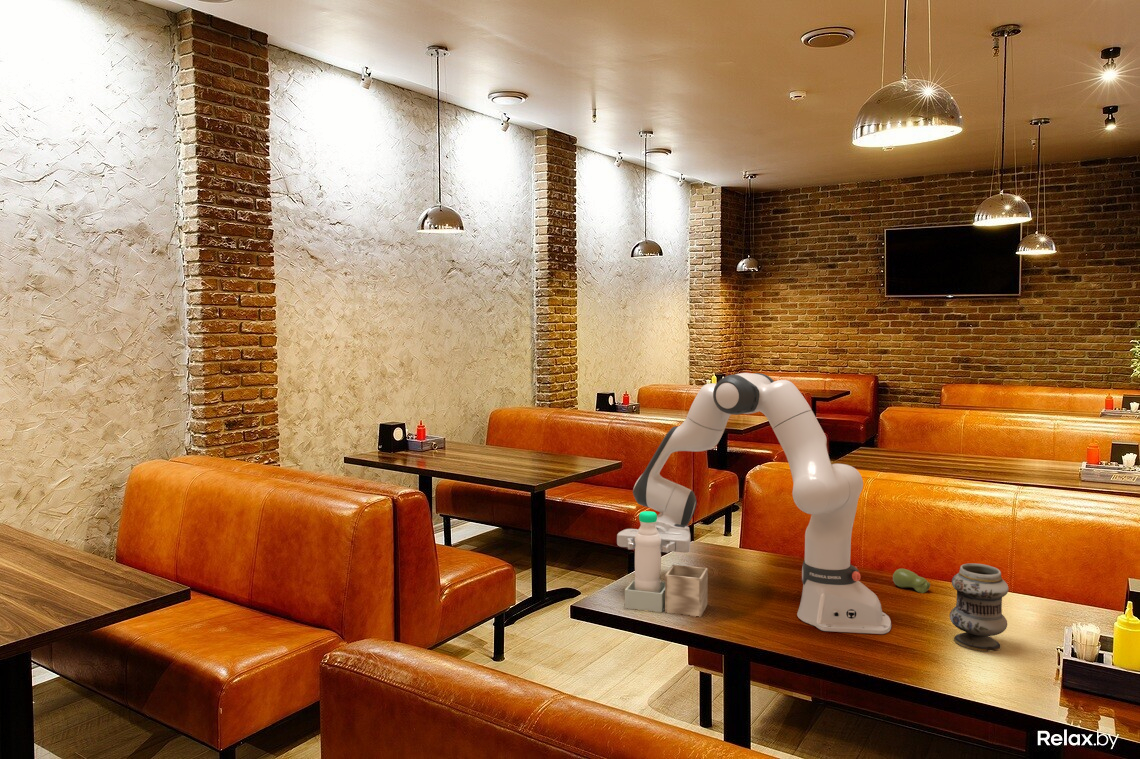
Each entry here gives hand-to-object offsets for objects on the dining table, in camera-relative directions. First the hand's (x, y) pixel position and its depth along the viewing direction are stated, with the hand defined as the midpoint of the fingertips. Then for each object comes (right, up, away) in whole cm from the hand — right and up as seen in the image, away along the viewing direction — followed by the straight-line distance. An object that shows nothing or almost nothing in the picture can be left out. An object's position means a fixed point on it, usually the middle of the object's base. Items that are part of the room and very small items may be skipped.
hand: (647, 548), depth 211 cm
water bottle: (0, -16, +2) cm, 16 cm away
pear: (+76, -15, +14) cm, 79 cm away
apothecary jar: (+75, -17, -25) cm, 81 cm away
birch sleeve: (+10, -16, -2) cm, 19 cm away
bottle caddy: (0, -15, +2) cm, 16 cm away
